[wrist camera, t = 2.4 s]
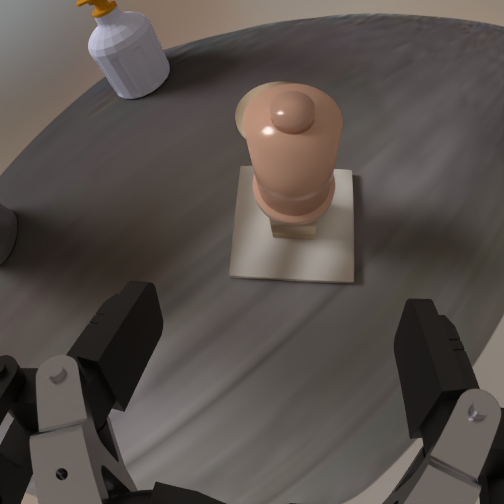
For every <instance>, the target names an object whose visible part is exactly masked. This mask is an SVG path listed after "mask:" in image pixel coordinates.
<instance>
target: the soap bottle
mask: <svg viewBox="0 0 504 504" xmlns="http://www.w3.org/2000/svg"><path fill="white" fill-rule="evenodd" d="M87 3H88V4H89V5H95V7H96V9H95V10H94V11H93V13H92V15H93V17H94V18H95V20H96V22H97V24H98V26H97V27H96V29H95V30H94V32H93V33H92V35H91V37H90V39H89V43H88V48H89V52H90V54H91V56H92V57H93V59H94V60H95V62H96V63H97V65H98V66H99V68H100V69H101V71H102V72H103V74H104V75H105V77H106V78H107V80H108V81H109V83H110V84H111V86H112V87H113V88H114V90H115V91H116V93H117V94H118V96H120V97H123V98H125V99H135V98H139V97H143V96H145V95H147V94H149V93H151V92H153V91H154V90H156V89H157V88H158V87H159V86H161V85H162V84H163V82H164V81H165V80H166V79H167V77H168V74H169V72H170V67H169V62H168V60H167V58H166V56H165V53H164V51H163V49H162V47H161V45H160V43H159V40H158V38H157V36H156V33H155V31H154V29H153V27H152V24H151V22H150V20H149V19H148V18H147V17H146V16H144V15H143V14H142V13H139V12H130V11H127V12H120V9H119V7H118V6H117V4H116V2H115V1H109V2H108V1H107V0H78V2H77V3H76V5H77V6H78V7H80V6H82V5H84V4H87Z"/></svg>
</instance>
